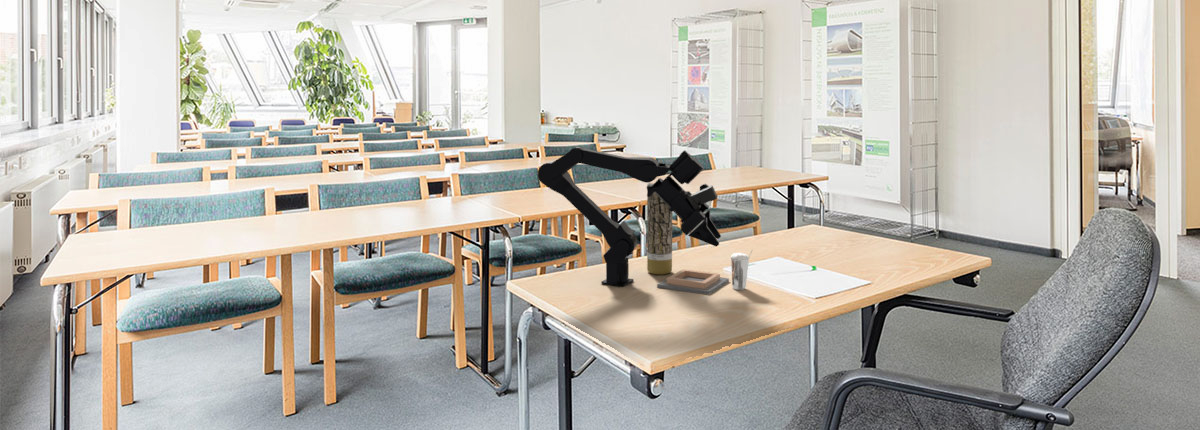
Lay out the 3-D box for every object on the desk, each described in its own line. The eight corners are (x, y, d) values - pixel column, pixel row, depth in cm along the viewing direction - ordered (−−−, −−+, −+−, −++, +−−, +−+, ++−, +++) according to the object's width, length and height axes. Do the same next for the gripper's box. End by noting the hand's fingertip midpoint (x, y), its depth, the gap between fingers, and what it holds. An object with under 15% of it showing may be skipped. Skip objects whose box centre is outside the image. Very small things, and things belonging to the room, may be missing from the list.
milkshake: (753, 290, 176) (754, 251, 174) (731, 290, 176) (732, 251, 174) (749, 285, 180) (750, 247, 179) (728, 286, 180) (729, 247, 179)
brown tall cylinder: (670, 275, 191) (671, 184, 187) (645, 274, 192) (645, 183, 188) (673, 269, 197) (673, 181, 193) (648, 268, 199) (649, 180, 194)
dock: (708, 294, 173) (709, 285, 173) (657, 287, 180) (657, 278, 180) (728, 281, 185) (728, 273, 184) (679, 274, 192) (679, 267, 191)
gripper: (695, 179, 167) (741, 226, 166) (700, 170, 185) (743, 213, 184) (661, 211, 170) (707, 257, 169) (670, 200, 188) (712, 241, 187)
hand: (718, 241), depth 177 cm, fingers open, 9 cm apart
